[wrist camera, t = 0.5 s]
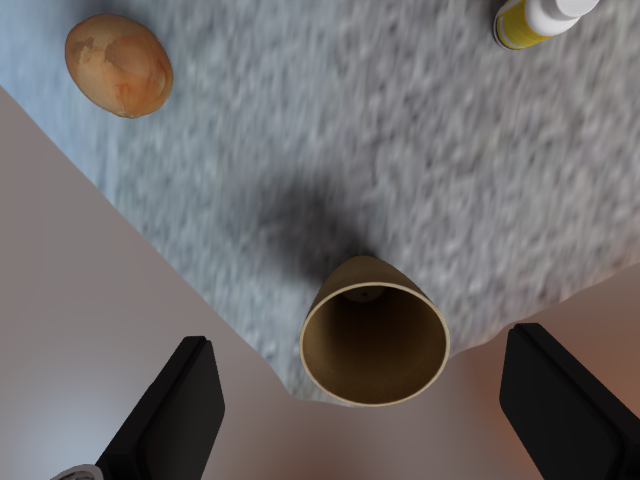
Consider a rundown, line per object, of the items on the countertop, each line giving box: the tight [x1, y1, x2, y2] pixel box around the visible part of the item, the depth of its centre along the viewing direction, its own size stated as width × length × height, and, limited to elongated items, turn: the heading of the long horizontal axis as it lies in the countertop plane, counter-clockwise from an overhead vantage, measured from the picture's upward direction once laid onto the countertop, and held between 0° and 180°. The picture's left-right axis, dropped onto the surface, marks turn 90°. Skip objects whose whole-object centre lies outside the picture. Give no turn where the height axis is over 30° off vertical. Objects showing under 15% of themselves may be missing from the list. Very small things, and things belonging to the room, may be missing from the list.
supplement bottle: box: [494, 0, 599, 50], centre depth 32 cm, size 5×5×10 cm
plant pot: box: [299, 255, 450, 406], centre depth 40 cm, size 15×15×16 cm
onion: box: [65, 14, 173, 119], centre depth 35 cm, size 10×10×10 cm
